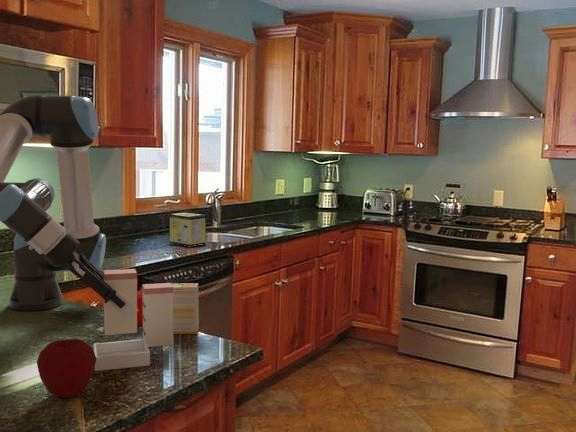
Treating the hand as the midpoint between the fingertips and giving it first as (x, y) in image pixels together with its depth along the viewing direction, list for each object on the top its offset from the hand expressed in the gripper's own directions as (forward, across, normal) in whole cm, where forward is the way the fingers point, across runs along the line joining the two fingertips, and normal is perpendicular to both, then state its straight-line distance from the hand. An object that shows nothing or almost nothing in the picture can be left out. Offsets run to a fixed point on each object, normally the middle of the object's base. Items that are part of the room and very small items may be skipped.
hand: (132, 311), depth 134 cm
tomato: (+13, -28, -4) cm, 31 cm away
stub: (+1, 0, -5) cm, 5 cm away
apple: (-1, +16, -19) cm, 24 cm away
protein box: (+36, -154, +21) cm, 160 cm away
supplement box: (+19, -18, +2) cm, 26 cm away
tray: (+6, -1, -10) cm, 12 cm away
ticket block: (+13, -10, -3) cm, 17 cm away
